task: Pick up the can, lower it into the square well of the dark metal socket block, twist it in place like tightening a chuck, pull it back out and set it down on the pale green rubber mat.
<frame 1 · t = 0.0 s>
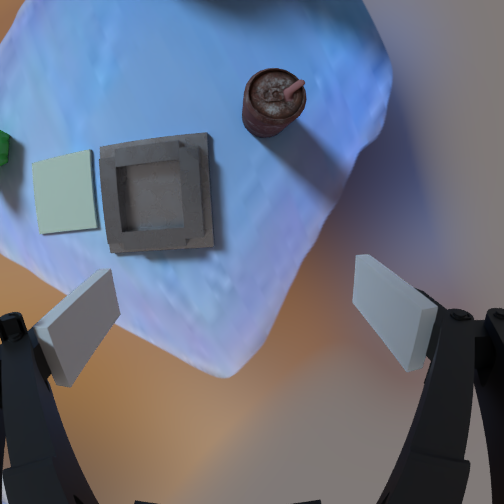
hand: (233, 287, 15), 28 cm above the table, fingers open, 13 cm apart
can: (264, 116, 39), on the table
socket block: (155, 194, 41), on the table
mat: (63, 193, 40), on the table
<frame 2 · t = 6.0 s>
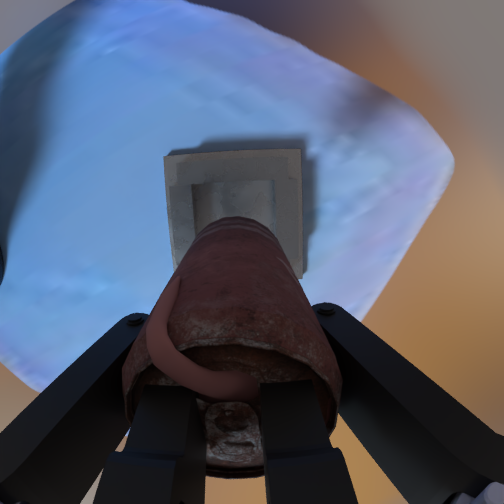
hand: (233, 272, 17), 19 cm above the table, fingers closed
can: (234, 258, 20), point 17 cm above the table, touching hand
socket block: (235, 217, 36), on the table
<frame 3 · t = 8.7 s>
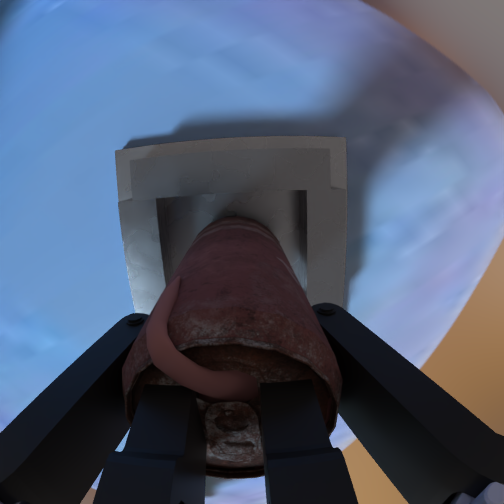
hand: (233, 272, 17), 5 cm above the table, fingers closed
can: (234, 258, 20), point 2 cm above the table, touching hand
socket block: (235, 251, 22), on the table
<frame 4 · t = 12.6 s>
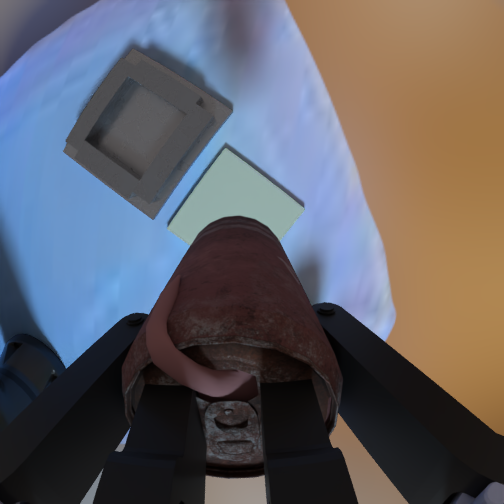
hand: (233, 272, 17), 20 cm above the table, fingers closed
can: (235, 257, 20), point 17 cm above the table, touching hand
socket block: (141, 129, 33), on the table
mat: (235, 217, 36), on the table
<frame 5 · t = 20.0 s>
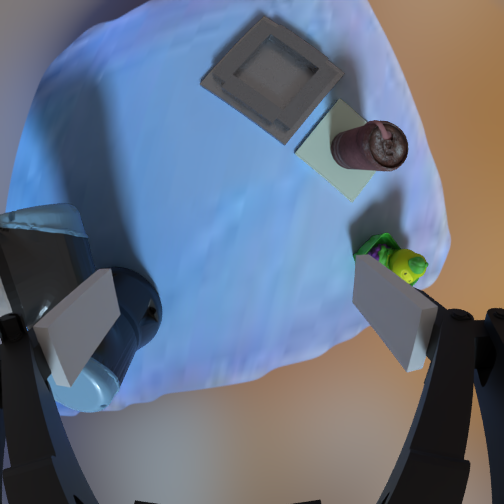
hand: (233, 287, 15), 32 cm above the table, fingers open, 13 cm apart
fruit basket: (378, 259, 50), on the table
can: (346, 149, 44), resting on mat
socket block: (273, 76, 40), on the table
mat: (346, 149, 44), on the table
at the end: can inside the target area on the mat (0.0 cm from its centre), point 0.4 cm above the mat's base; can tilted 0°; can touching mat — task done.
